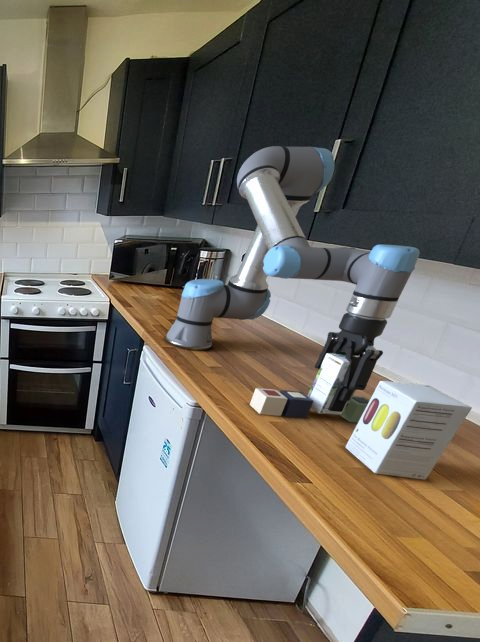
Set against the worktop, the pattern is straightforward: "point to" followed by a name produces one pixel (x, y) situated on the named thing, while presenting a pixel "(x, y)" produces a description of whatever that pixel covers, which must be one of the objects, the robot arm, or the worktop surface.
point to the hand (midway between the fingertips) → (325, 404)
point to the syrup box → (329, 383)
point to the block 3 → (355, 409)
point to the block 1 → (268, 401)
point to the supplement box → (406, 429)
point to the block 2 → (296, 404)
